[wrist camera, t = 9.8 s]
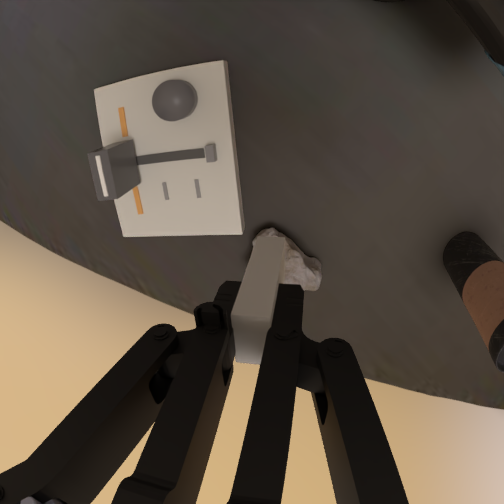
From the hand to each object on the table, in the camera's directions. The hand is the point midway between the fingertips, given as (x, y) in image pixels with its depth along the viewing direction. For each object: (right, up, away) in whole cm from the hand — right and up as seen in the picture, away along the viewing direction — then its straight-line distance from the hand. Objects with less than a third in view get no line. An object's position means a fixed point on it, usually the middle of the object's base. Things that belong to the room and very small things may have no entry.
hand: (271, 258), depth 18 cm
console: (-12, +13, +22) cm, 28 cm away
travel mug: (+30, 0, +22) cm, 37 cm away
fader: (-17, +12, +21) cm, 30 cm away
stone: (+4, 0, +27) cm, 27 cm away
